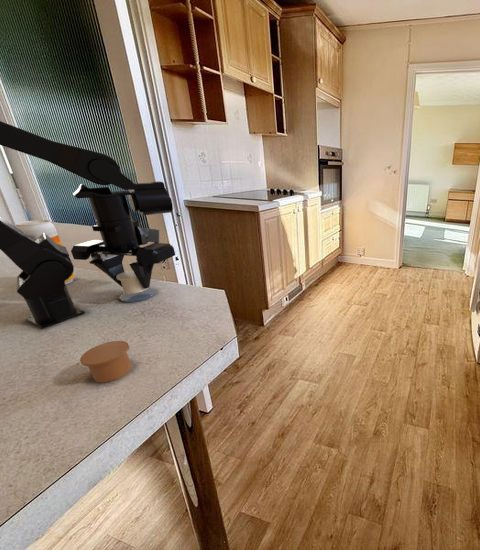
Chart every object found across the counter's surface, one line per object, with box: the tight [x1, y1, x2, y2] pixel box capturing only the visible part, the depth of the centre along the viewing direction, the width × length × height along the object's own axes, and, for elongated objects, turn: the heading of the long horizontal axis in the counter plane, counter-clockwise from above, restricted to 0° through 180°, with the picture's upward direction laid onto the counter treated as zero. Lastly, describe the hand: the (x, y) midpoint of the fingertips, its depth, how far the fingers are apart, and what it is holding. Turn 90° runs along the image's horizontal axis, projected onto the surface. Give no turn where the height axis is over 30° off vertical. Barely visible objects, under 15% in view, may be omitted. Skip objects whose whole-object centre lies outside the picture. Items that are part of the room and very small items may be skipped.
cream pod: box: [116, 269, 148, 294], centre depth 65 cm, size 5×5×4 cm
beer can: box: [15, 219, 75, 285], centre depth 68 cm, size 6×6×15 cm
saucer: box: [119, 287, 156, 303], centre depth 66 cm, size 6×6×1 cm
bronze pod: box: [79, 340, 133, 384], centre depth 43 cm, size 5×5×4 cm
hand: (136, 287), depth 65 cm, fingers closed on cream pod, 5 cm apart
